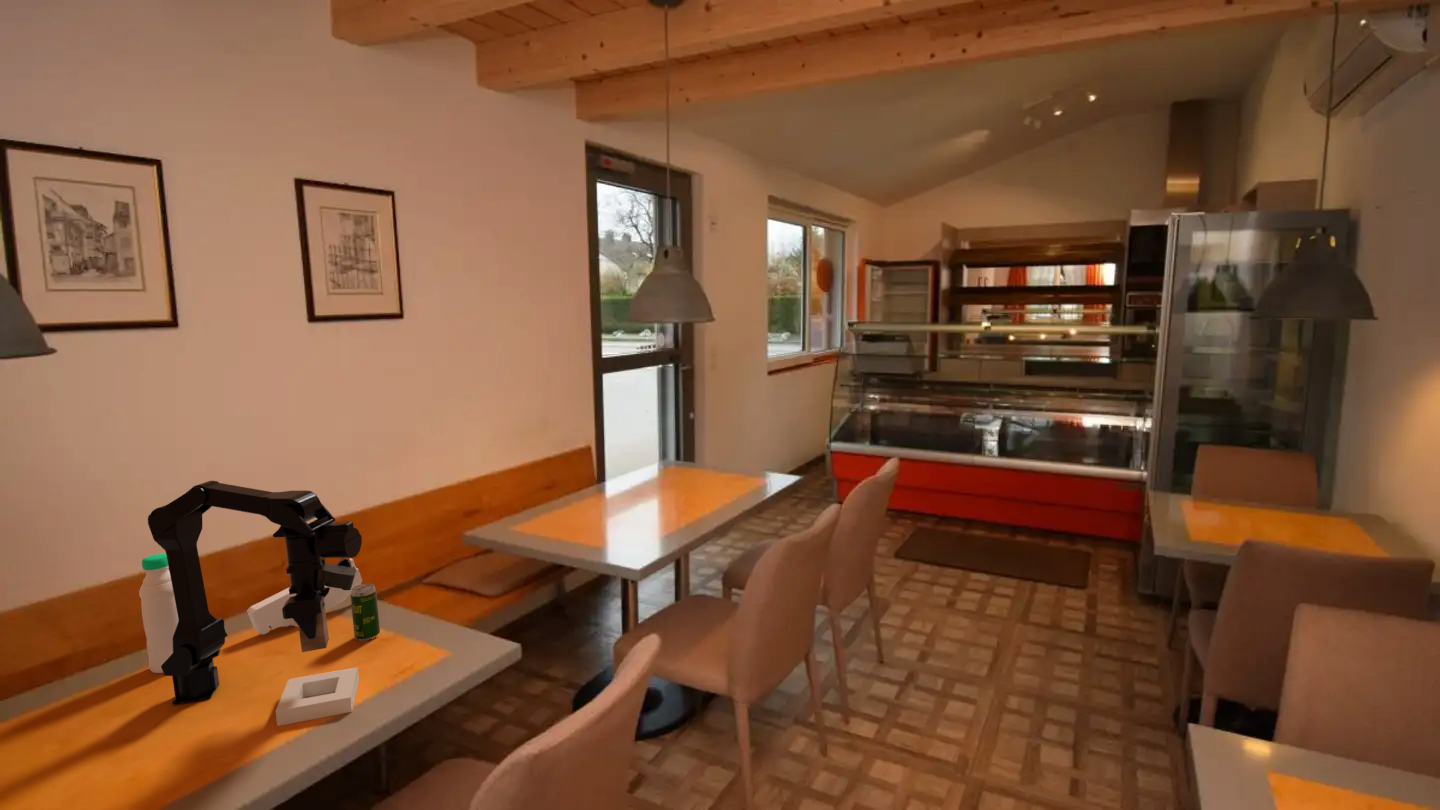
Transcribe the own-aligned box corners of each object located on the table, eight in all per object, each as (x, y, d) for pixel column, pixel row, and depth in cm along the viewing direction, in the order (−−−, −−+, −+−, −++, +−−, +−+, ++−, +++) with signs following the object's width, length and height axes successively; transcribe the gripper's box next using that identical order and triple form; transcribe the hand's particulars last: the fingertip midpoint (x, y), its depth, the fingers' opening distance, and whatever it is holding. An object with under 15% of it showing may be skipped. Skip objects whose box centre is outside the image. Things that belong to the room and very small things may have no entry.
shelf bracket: (371, 603, 192) (357, 560, 188) (271, 659, 174) (253, 613, 170) (360, 598, 195) (346, 556, 192) (261, 652, 177) (244, 607, 173)
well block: (277, 726, 137) (275, 711, 136) (290, 693, 148) (288, 679, 148) (351, 711, 141) (350, 697, 141) (358, 680, 153) (357, 667, 152)
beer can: (370, 629, 176) (365, 581, 175) (385, 634, 174) (380, 585, 172) (349, 639, 172) (344, 590, 170) (365, 643, 169) (360, 594, 167)
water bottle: (185, 670, 158) (169, 559, 155) (145, 677, 156) (128, 564, 152) (194, 656, 165) (180, 548, 161) (156, 662, 162) (141, 553, 159)
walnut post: (301, 652, 142) (296, 608, 141) (305, 643, 146) (299, 600, 145) (326, 648, 144) (321, 604, 143) (328, 639, 148) (323, 596, 147)
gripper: (346, 566, 137) (354, 645, 139) (355, 537, 154) (362, 608, 156) (277, 576, 133) (287, 657, 135) (294, 545, 150) (303, 618, 152)
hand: (313, 633), depth 145 cm, fingers closed on walnut post, 4 cm apart
